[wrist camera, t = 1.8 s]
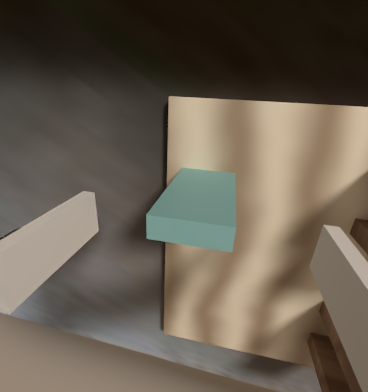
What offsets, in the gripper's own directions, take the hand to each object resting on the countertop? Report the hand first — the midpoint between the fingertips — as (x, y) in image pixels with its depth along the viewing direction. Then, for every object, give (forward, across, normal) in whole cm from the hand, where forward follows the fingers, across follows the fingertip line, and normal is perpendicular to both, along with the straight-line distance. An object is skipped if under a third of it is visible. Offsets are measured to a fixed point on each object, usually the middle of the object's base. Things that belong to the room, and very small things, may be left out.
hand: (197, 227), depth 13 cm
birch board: (+11, +8, -8) cm, 16 cm away
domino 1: (+9, 0, 0) cm, 9 cm away
